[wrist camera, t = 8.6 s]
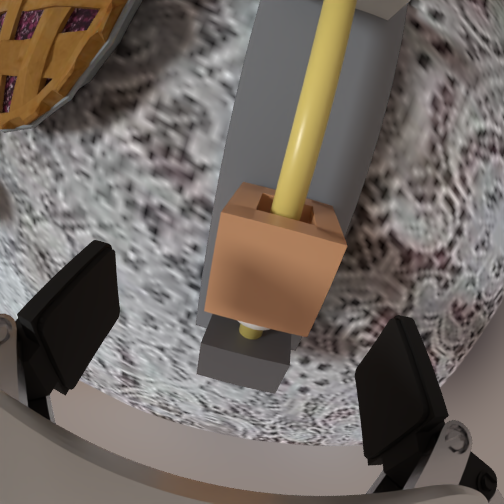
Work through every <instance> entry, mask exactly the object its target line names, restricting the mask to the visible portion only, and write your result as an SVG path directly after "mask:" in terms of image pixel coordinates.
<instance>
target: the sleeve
mask: <svg viewBox="0 0 504 504" xmlns="http://www.w3.org/2000/svg"><path fill="white" fill-rule="evenodd" d="M275 192H276V190H274V189H270V188H267V187H263V186H259V185H255V184H251V183H247V182H243V183H242V184H241V185H240V187H239V188H238V189H237V191H236V192H235V193H234V195H233V196H232V198H231V199H230V200H229V202H228V203H227V204H226V206H225V207H224V209H223V210H222V211H221V215H220V220H219V226H218V231H217V237H216V242H215V248H214V254H213V259H212V265H211V271H210V277H209V283H208V290H207V296H206V302H205V309H204V311H205V312H209V313H212V314H216V315H219V316H223V317H227V318H230V319H234V320H238V321H242V322H245V323H249V324H253V325H257V326H261V327H265V328H269V329H273V330H277V331H282V332H286V333H290V334H295V335H299V336H304V337H307V336H308V334H309V332H310V330H311V328H312V326H313V324H314V322H315V319H316V317H317V315H318V313H319V311H320V309H321V306H322V304H323V302H324V300H325V298H326V295H327V293H328V291H329V289H330V286H331V284H332V282H333V279H334V277H335V275H336V272H337V270H338V268H339V265H340V263H341V260H342V258H343V255H344V253H345V250H346V248H347V243H346V241H345V238H344V235H343V232H342V230H341V227H340V224H339V222H338V219H337V216H336V214H335V211H334V208H333V206H331V205H328V204H325V203H321V202H318V201H314V200H311V199H307V198H306V201H305V204H304V207H303V211H302V214H301V217H300V220H299V221H297V220H294V219H290V218H286V217H283V216H279V215H275V214H271V213H270V211H271V207H272V203H273V199H274V195H275Z"/></svg>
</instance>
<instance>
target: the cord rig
mask: <svg viewBox="0 0 504 504" xmlns="http://www.w3.org/2000/svg"><path fill="white" fill-rule="evenodd" d="M409 1H410V0H260V4H259V7H258V11H257V14H256V18H255V22H254V25H253V29H252V33H251V37H250V40H249V44H248V48H247V52H246V56H245V60H244V64H243V68H242V72H241V77H240V81H239V85H238V89H237V94H236V98H235V102H234V107H233V111H232V116H231V121H230V125H229V130H228V135H227V139H226V144H225V149H224V154H223V159H222V164H221V169H220V175H219V180H218V185H217V191H216V196H215V202H214V207H213V213H212V219H211V225H210V230H209V237H208V243H207V249H206V255H205V262H204V268H203V275H202V282H201V289H200V296H199V303H198V311H197V318H196V325H198V326H201V327H204V328H207V329H206V332H205V334H204V337H203V339H202V342H201V347H200V354H199V361H198V368H197V374H199V375H202V376H206V377H209V378H213V379H216V380H220V381H224V382H228V383H231V384H235V385H239V386H243V387H248V388H252V389H256V390H261V391H265V392H270V393H275V392H276V391H277V389H278V387H279V385H280V383H281V381H282V379H283V377H284V375H285V373H286V372H287V370H288V368H289V366H290V352H291V350H295V351H296V349H297V347H298V345H299V342H300V340H301V338H302V336H299V335H295V334H290V333H286V332H282V331H277V330H273V329H269V328H265V327H261V326H257V325H253V324H249V323H245V322H242V321H238V320H234V319H230V318H227V317H223V316H219V315H216V314H212V313H209V312H205V311H204V309H205V302H206V296H207V290H208V283H209V277H210V271H211V265H212V259H213V254H214V248H215V242H216V237H217V231H218V226H219V220H220V215H221V211H222V210H223V209H224V207H225V206H226V204H227V203H228V202H229V200H230V199H231V198H232V196H233V195H234V193H235V192H236V191H237V189H238V188H239V187H240V185H241V184H242V183H243V182H247V183H251V184H255V185H259V186H263V187H267V188H270V189H274V190H276V192H275V195H274V199H273V203H272V207H271V211H270V213H271V214H275V215H279V216H283V217H286V218H290V219H294V220H297V221H299V220H300V217H301V214H302V211H303V207H304V204H305V201H306V198H307V199H311V200H314V201H318V202H321V203H325V204H328V205H331V206H333V208H334V211H335V214H336V216H337V219H338V222H339V224H340V227H341V230H342V232H343V235H344V238H345V235H346V233H347V230H348V227H349V225H350V222H351V219H352V216H353V214H354V211H355V208H356V205H357V202H358V199H359V197H360V194H361V191H362V188H363V185H364V182H365V179H366V176H367V173H368V170H369V166H370V163H371V160H372V157H373V154H374V150H375V147H376V144H377V140H378V137H379V133H380V130H381V126H382V123H383V119H384V115H385V112H386V108H387V104H388V100H389V96H390V92H391V88H392V84H393V80H394V75H395V71H396V66H397V62H398V57H399V52H400V47H401V42H402V36H403V31H404V25H405V19H406V12H407V5H408V2H409Z"/></svg>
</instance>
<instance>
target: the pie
mask: <svg viewBox="0 0 504 504" xmlns="http://www.w3.org/2000/svg"><path fill="white" fill-rule="evenodd" d="M141 2H142V0H0V130H1V131H2V132H4V133H6V132H11V131H17V130H24V129H31V128H35V127H36V126H37V125H38V124H40V123H41V122H42V121H43V120H45V119H46V118H47V117H48V116H50V115H51V114H52V113H54V112H55V111H56V110H58V109H59V108H60V107H62V106H63V105H64V104H66V103H67V102H69V101H70V100H71V99H72V98H73V97H74V95H75V94H76V92H77V91H78V89H79V88H81V87H82V86H84V85H85V84H87V83H89V82H90V81H91V80H92V79H93V77H94V76H95V74H96V73H97V72H98V70H99V69H100V68H101V66H102V65H103V63H104V62H105V61H106V60H107V58H108V57H109V56H110V54H111V53H112V52H113V51H114V49H115V48H116V47H117V46H118V44H119V43H120V41H121V39H122V37H123V35H124V33H125V31H126V29H127V27H128V25H129V23H130V22H131V20H132V18H133V16H134V14H135V12H136V11H137V9H138V7H139V5H140V4H141Z"/></svg>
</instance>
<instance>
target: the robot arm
mask: <svg viewBox="0 0 504 504" xmlns="http://www.w3.org/2000/svg"><path fill="white" fill-rule="evenodd" d="M119 314H120V306H119V297H118V286H117V273H116V257H115V251H114V250H113V249H112V247H111V245H110V244H108V243H104V242H101V241H98V240H94V241H92V242H91V243H90V244H89V245H88V246H86V247H85V248H84V249H83V250H82V251H81V252H80V253H79V254H77V255H76V256H75V257H74V258H73V259H72V260H71V261H70V262H69V263H68V264H67V265H65V266H64V267H63V268H62V269H61V270H60V271H59V272H58V273H57V274H56V275H55V276H54V277H53V278H52V279H51V280H50V281H49V282H48V283H47V284H46V285H45V286H44V287H43V288H42V289H41V290H40V291H39V292H38V293H37V294H36V295H35V296H34V297H33V298H32V299H31V300H30V301H29V302H28V303H27V304H26V305H25V306H24V307H23V308H22V310H21V311H20V312H19V313H18V314H17V316H18V319H17V320H16V321H14V319H13V318H12V317H11V316H9V315H6V314H0V504H504V498H503V497H502V495H501V493H500V492H499V490H496V487H497V477H496V474H495V473H494V471H493V470H492V469H491V468H490V467H489V466H488V465H486V464H485V463H484V462H483V461H482V460H480V459H479V458H478V457H477V456H476V455H474V454H473V453H472V452H471V447H472V437H471V434H470V432H469V430H468V428H467V427H466V426H465V425H464V424H463V423H461V422H459V421H456V420H452V421H449V422H447V423H446V424H445V422H444V419H446V417H448V412H447V409H446V405H445V402H444V399H443V396H442V393H441V390H440V387H439V384H438V381H437V378H436V375H435V372H434V369H433V367H432V364H431V361H430V359H429V356H428V353H427V351H426V348H425V346H424V343H423V341H422V338H421V336H420V334H419V331H418V329H417V326H416V324H415V322H414V320H413V319H412V318H410V317H405V316H400V315H398V316H396V317H395V318H394V319H390V320H389V322H388V323H387V325H386V326H385V328H384V330H383V331H382V333H381V334H380V336H379V337H378V339H377V340H376V342H375V343H374V345H373V346H372V347H371V349H370V350H369V352H368V353H367V355H366V356H365V357H364V359H363V360H362V361H361V363H360V364H359V366H358V367H357V369H356V372H355V380H356V387H357V395H358V402H359V410H360V419H361V428H362V438H363V449H364V456H365V457H366V458H367V459H368V465H381V464H383V471H382V472H381V474H380V475H379V477H378V478H377V480H376V481H375V482H374V484H373V485H372V486H371V488H370V489H369V490H368V492H367V493H366V494H362V495H347V496H299V495H298V496H297V495H282V494H271V493H261V492H254V491H247V490H240V489H234V488H228V487H223V486H218V485H213V484H208V483H204V482H200V481H196V480H191V479H188V478H184V477H180V476H177V475H173V474H170V473H167V472H164V471H160V470H157V469H154V468H151V467H148V466H145V465H143V464H140V463H137V462H134V461H132V460H129V459H126V458H124V457H122V456H119V455H117V454H115V453H112V452H110V451H108V450H105V449H103V448H101V447H99V446H97V445H95V444H93V443H91V442H88V441H86V440H84V439H82V438H81V437H79V436H77V435H75V434H73V433H71V432H69V431H67V430H65V429H64V428H62V427H60V426H58V425H56V423H55V418H54V414H53V409H52V404H51V398H50V393H51V392H52V390H53V389H55V390H57V391H59V392H60V393H62V394H64V395H66V394H67V392H68V390H69V389H73V388H74V387H75V386H76V384H77V383H78V381H79V379H80V378H81V376H82V374H83V373H84V371H85V369H86V368H87V366H88V364H89V363H90V361H91V360H92V358H93V356H94V355H95V353H96V352H97V350H98V348H99V347H100V345H101V344H102V342H103V341H104V339H105V338H106V336H107V335H108V333H109V332H110V330H111V328H112V327H113V325H114V324H115V322H116V321H117V319H118V317H119Z"/></svg>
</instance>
